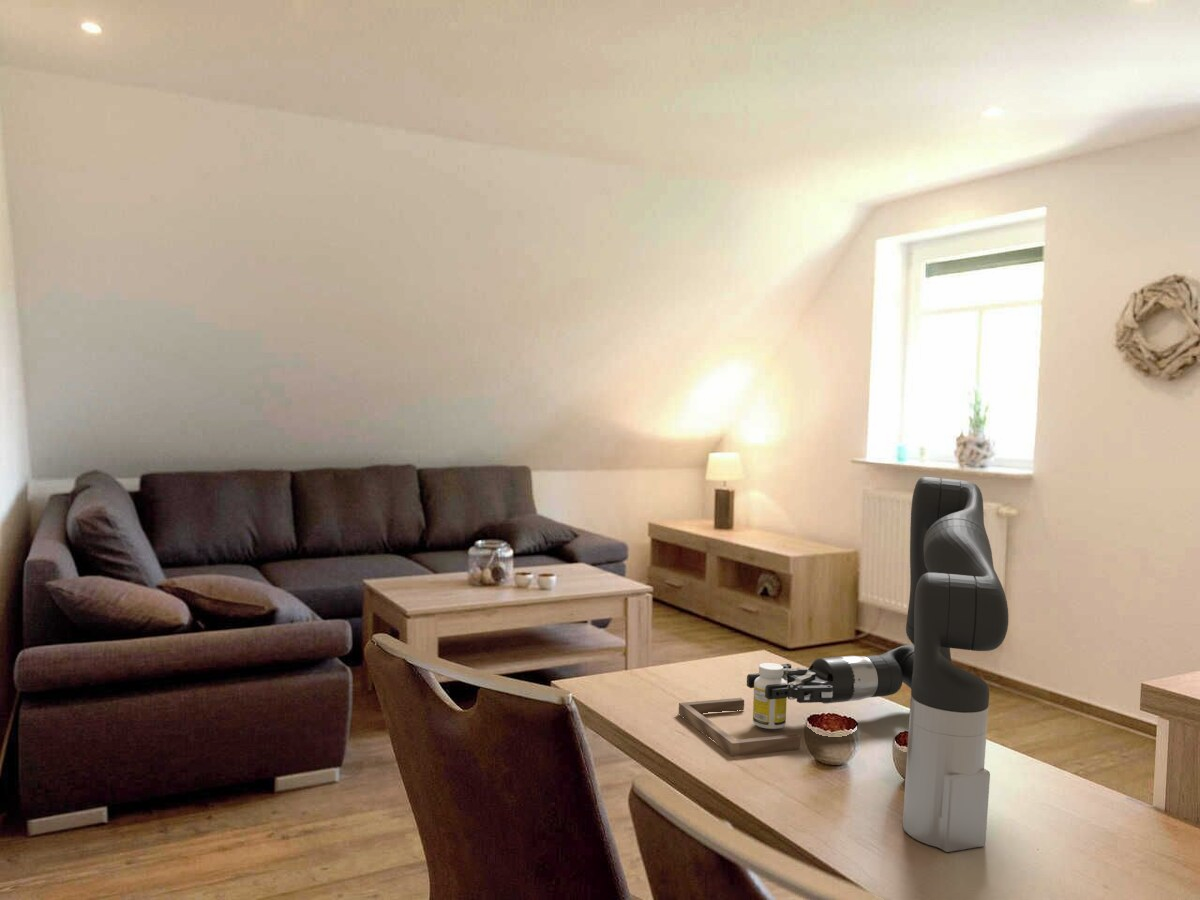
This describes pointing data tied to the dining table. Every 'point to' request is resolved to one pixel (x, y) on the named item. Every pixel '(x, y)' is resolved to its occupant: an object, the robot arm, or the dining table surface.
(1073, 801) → the dining table surface
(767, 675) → the supplement bottle
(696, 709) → the walnut tray
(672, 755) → the dining table surface
